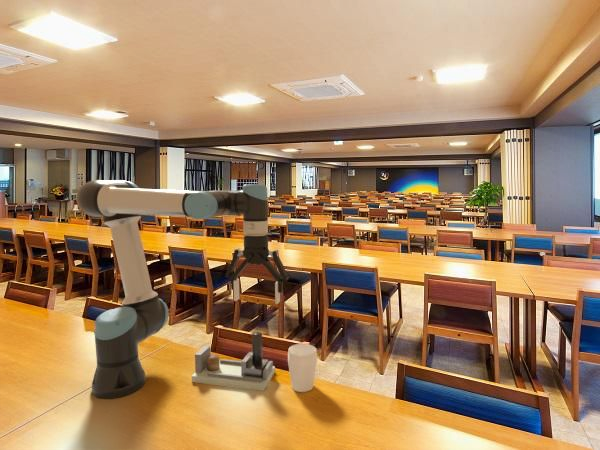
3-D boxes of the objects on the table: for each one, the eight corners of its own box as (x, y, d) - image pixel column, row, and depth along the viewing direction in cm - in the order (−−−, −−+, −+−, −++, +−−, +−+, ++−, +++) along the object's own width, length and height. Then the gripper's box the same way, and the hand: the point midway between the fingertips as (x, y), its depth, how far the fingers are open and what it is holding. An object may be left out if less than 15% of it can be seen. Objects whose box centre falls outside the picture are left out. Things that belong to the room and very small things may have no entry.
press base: (191, 381, 120) (190, 357, 119) (209, 364, 132) (208, 342, 131) (263, 390, 115) (263, 365, 114) (274, 371, 127) (274, 349, 126)
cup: (314, 396, 112) (314, 357, 111) (284, 392, 114) (284, 354, 113) (318, 380, 121) (319, 344, 120) (291, 378, 123) (291, 342, 121)
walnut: (204, 370, 123) (204, 359, 123) (210, 365, 127) (210, 353, 127) (216, 372, 122) (215, 360, 122) (221, 366, 126) (221, 354, 126)
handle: (241, 376, 119) (240, 336, 118) (249, 366, 126) (248, 328, 124) (261, 379, 117) (260, 338, 116) (268, 368, 124) (267, 330, 123)
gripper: (213, 234, 116) (215, 302, 118) (292, 237, 110) (292, 307, 112) (223, 231, 123) (225, 295, 125) (297, 233, 117) (298, 300, 120)
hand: (256, 301), depth 119 cm, fingers open, 13 cm apart
